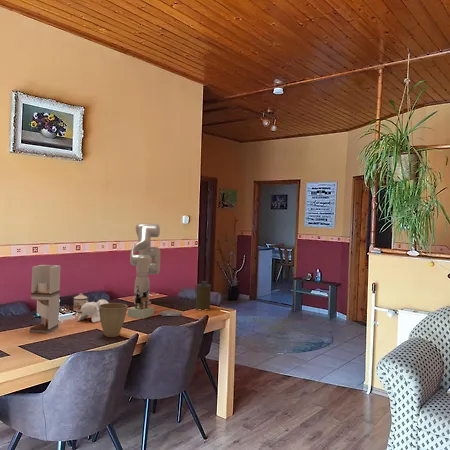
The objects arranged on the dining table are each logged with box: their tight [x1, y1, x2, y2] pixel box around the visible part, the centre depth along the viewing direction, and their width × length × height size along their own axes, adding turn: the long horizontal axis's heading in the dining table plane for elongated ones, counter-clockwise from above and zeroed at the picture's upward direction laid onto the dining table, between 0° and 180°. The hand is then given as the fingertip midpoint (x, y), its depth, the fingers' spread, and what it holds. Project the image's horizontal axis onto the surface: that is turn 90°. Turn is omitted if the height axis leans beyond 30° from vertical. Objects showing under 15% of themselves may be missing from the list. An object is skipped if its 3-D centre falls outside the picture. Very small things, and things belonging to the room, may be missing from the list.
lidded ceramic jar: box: [72, 293, 90, 313], centre depth 284 cm, size 12×9×12 cm
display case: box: [29, 264, 62, 334], centre depth 234 cm, size 11×11×35 cm
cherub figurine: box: [77, 299, 109, 324], centre depth 263 cm, size 13×12×20 cm
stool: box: [134, 296, 148, 309], centre depth 277 cm, size 6×6×7 cm
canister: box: [195, 280, 212, 311], centre depth 306 cm, size 11×10×20 cm
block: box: [127, 305, 155, 319], centre depth 277 cm, size 12×12×5 cm
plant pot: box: [99, 302, 128, 338], centre depth 228 cm, size 15×15×16 cm
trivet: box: [158, 310, 183, 317], centre depth 284 cm, size 15×15×1 cm
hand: (141, 302), depth 277 cm, fingers closed on stool, 6 cm apart
